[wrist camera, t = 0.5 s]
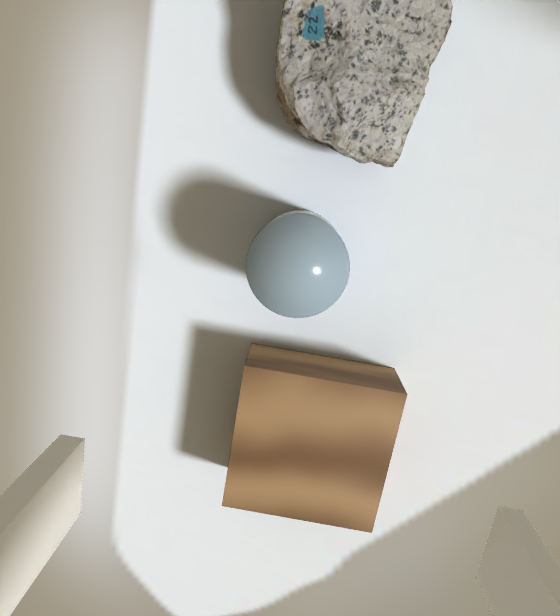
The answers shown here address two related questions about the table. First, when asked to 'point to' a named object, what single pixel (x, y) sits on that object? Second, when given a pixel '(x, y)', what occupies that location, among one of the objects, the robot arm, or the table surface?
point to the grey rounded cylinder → (297, 264)
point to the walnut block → (313, 437)
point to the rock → (357, 70)
